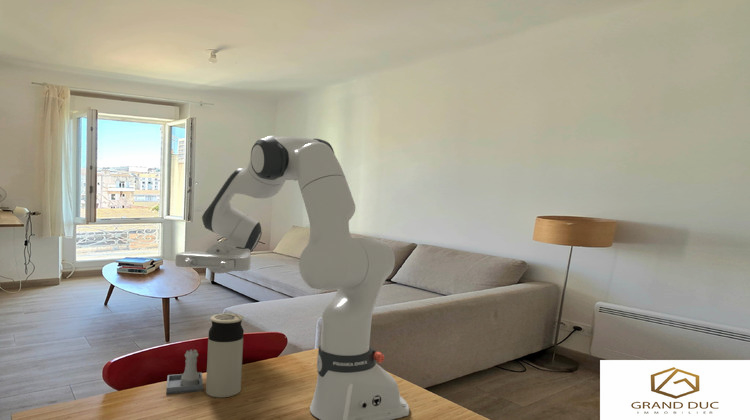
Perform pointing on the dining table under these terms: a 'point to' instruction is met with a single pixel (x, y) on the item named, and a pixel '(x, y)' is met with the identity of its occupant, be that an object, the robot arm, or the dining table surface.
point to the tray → (177, 387)
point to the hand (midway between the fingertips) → (205, 264)
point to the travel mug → (224, 355)
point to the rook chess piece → (190, 369)
